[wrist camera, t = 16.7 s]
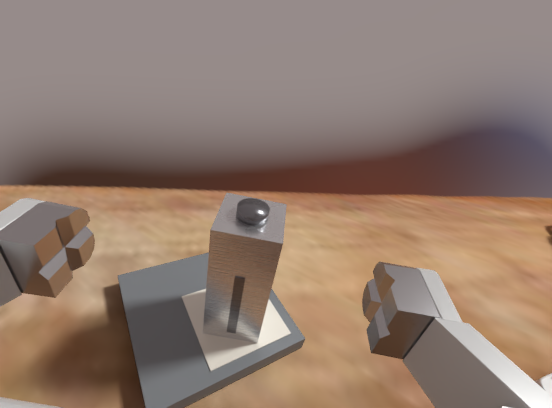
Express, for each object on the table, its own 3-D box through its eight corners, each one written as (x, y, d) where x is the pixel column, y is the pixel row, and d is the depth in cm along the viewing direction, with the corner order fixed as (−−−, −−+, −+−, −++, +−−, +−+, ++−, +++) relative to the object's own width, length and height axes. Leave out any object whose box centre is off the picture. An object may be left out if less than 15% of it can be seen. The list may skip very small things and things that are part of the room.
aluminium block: (263, 297, 31) (288, 195, 24) (257, 344, 26) (285, 235, 20) (216, 289, 31) (227, 183, 24) (202, 334, 26) (210, 221, 19)
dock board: (240, 253, 38) (241, 243, 37) (301, 347, 29) (305, 337, 28) (119, 285, 31) (117, 274, 30) (148, 425, 22) (147, 416, 21)
